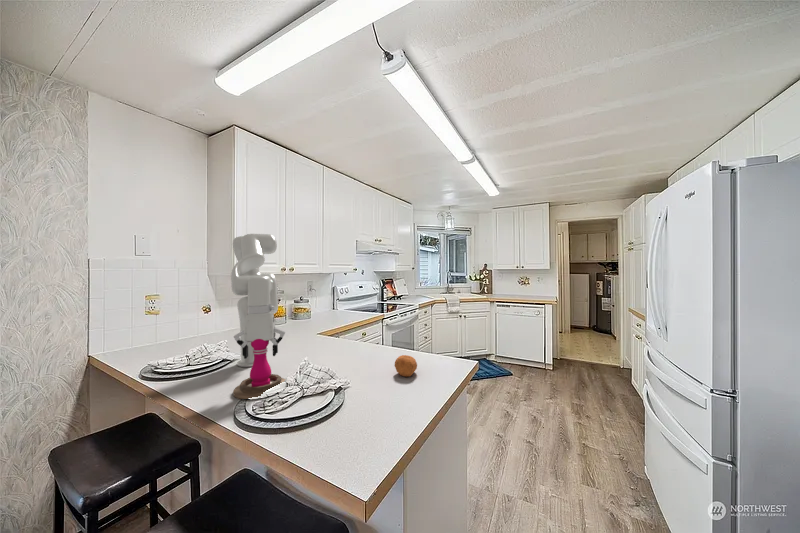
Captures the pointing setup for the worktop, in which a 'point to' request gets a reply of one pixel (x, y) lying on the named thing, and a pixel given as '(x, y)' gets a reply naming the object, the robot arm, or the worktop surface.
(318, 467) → the worktop surface
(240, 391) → the round tray
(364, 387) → the worktop surface
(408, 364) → the potato
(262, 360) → the pepper mill
